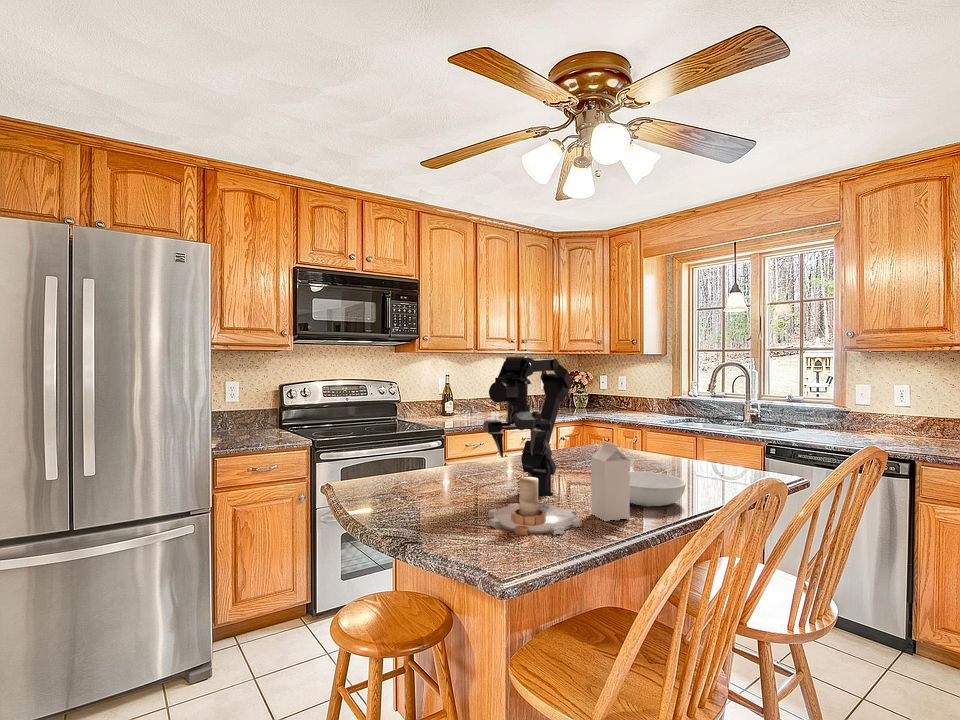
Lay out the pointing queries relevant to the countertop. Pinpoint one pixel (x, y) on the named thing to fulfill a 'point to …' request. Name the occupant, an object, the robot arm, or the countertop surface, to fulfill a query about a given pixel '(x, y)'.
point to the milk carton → (610, 483)
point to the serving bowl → (655, 488)
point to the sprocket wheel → (534, 519)
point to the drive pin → (528, 496)
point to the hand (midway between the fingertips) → (517, 456)
